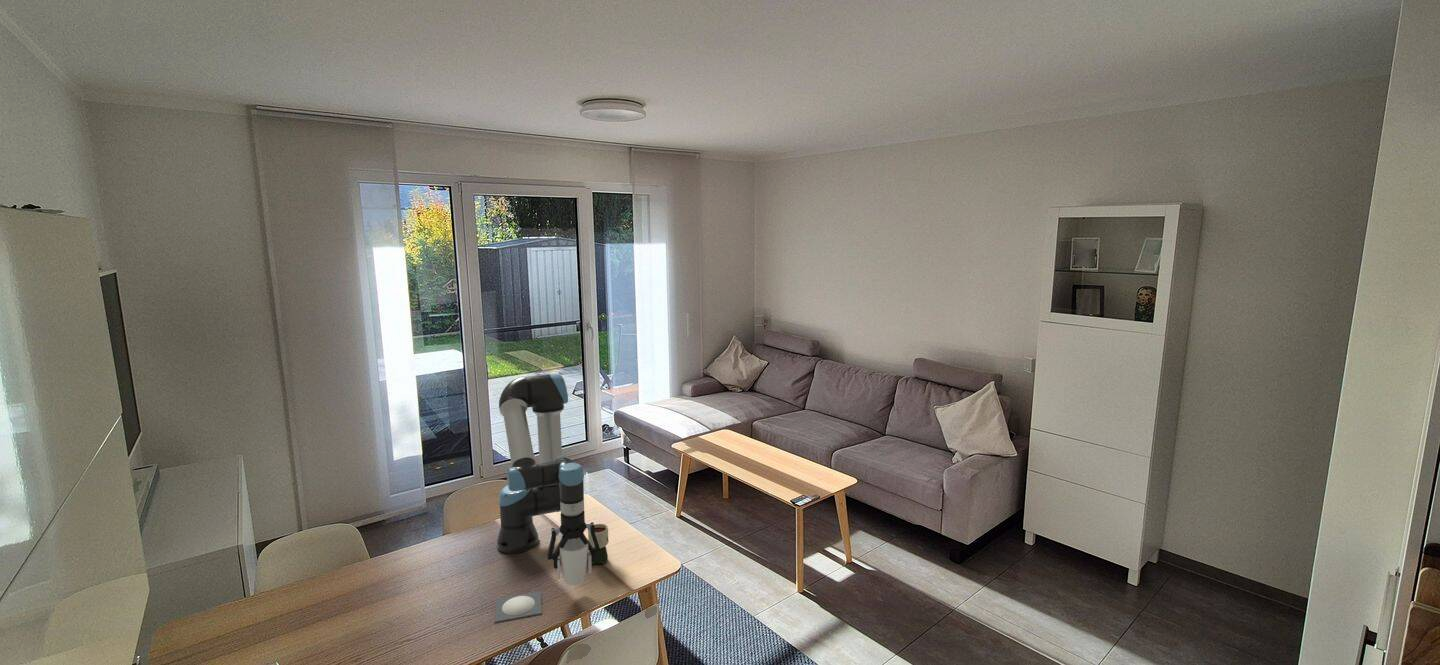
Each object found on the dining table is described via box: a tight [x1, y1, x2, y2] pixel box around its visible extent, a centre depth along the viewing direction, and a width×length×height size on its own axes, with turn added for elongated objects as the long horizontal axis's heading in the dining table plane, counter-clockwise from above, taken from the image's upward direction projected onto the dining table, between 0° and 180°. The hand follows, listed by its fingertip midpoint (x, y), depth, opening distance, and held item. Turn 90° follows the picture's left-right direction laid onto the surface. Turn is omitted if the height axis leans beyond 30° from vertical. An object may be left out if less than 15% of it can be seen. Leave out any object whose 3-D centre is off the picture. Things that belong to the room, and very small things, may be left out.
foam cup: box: [559, 538, 589, 586], centre depth 199 cm, size 10×9×13 cm
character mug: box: [587, 523, 609, 565], centre depth 219 cm, size 11×7×13 cm, turn 29°
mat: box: [494, 590, 543, 624], centre depth 194 cm, size 12×14×1 cm
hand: (574, 573), depth 199 cm, fingers closed on foam cup, 9 cm apart
